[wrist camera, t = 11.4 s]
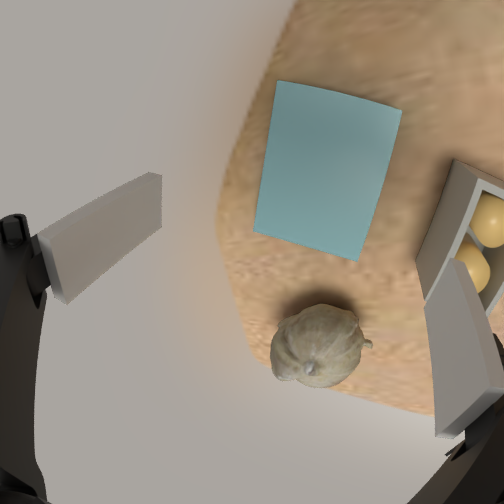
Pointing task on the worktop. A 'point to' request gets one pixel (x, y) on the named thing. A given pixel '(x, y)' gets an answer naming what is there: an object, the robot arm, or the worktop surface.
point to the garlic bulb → (317, 346)
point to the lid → (324, 168)
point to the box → (467, 233)
